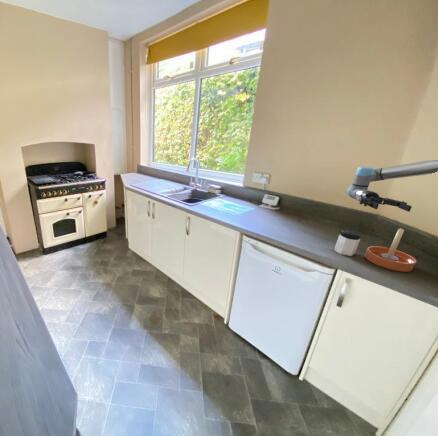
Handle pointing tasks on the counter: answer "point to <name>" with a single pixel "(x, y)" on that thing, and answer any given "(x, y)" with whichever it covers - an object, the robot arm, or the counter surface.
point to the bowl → (403, 263)
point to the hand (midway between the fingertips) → (393, 207)
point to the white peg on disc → (393, 247)
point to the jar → (347, 242)
